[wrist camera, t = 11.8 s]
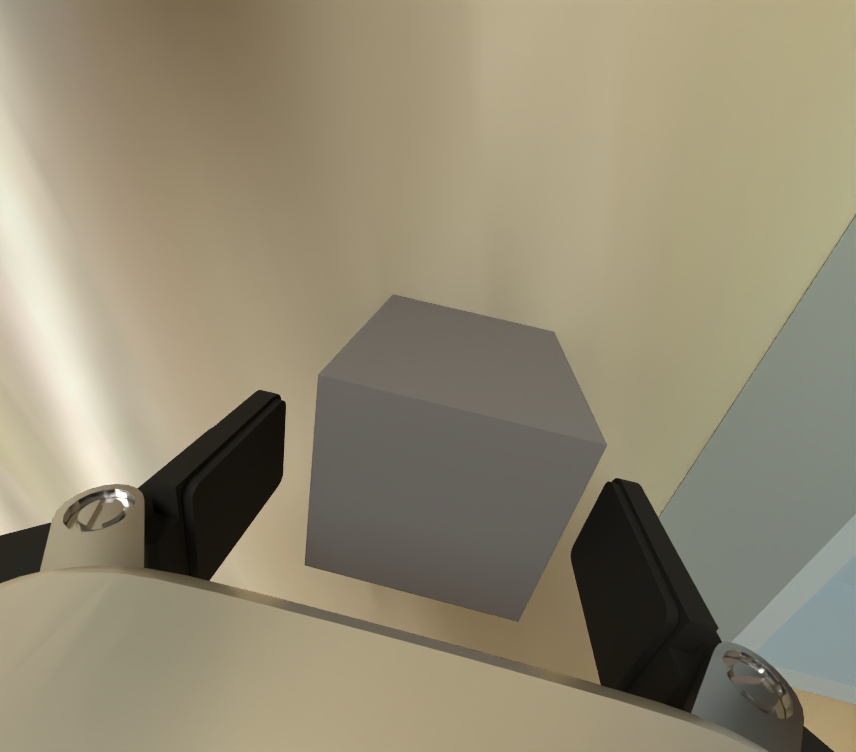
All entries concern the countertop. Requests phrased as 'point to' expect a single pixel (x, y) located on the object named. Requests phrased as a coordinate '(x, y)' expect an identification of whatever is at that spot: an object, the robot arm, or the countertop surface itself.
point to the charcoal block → (447, 456)
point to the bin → (785, 496)
